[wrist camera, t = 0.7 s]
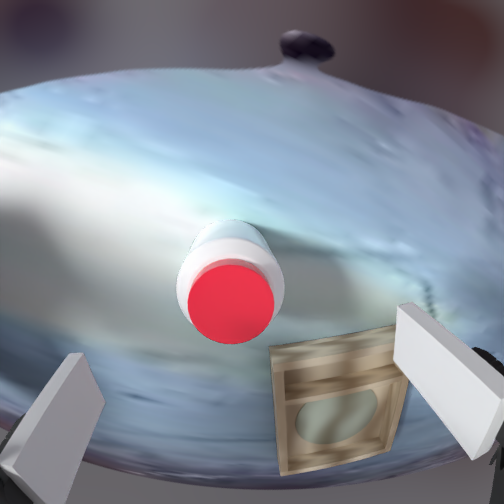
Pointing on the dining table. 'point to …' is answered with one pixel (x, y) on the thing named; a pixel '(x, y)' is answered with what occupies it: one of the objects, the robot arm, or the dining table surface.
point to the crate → (335, 399)
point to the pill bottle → (230, 282)
